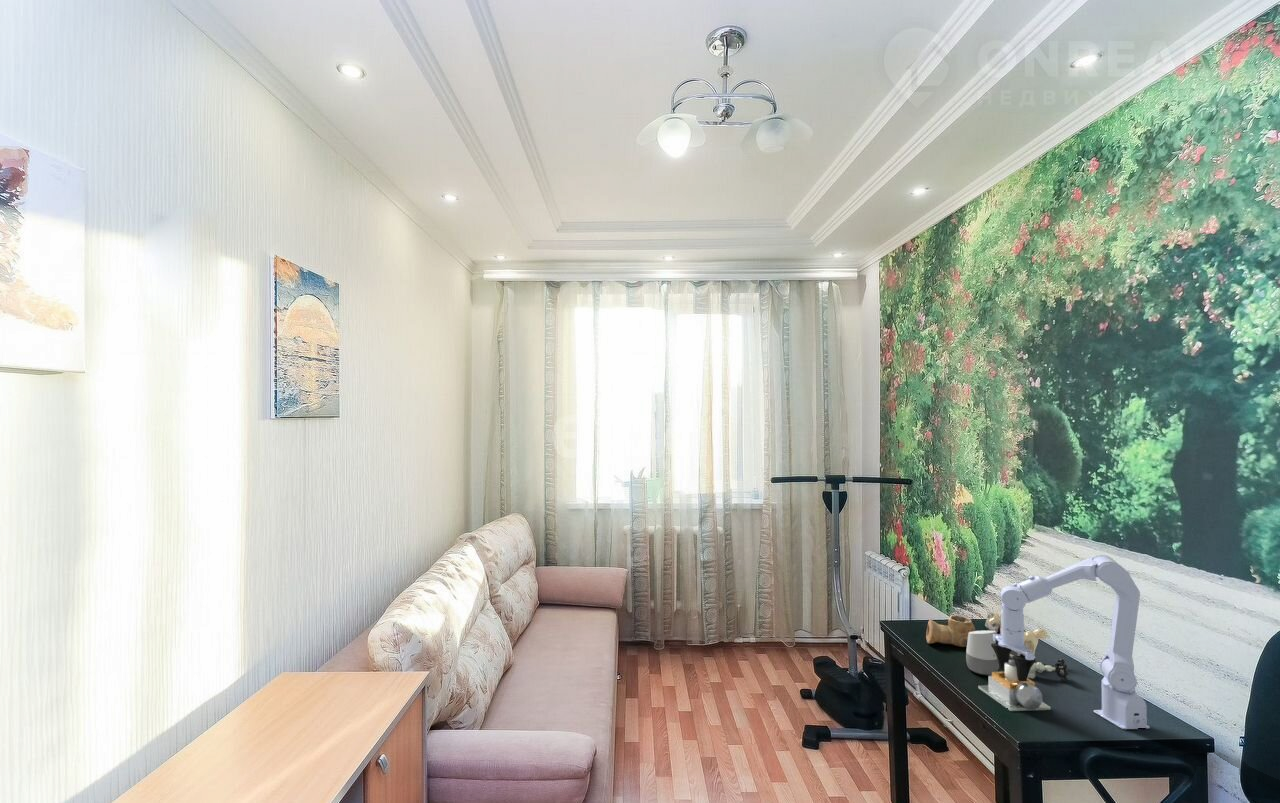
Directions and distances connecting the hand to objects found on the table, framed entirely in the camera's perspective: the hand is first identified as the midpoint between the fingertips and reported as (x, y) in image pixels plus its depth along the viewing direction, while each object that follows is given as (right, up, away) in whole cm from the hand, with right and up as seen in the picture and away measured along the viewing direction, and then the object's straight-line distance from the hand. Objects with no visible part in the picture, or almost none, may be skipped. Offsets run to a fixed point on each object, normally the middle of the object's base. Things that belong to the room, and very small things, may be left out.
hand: (1012, 674), depth 173 cm
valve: (+19, -8, +14) cm, 25 cm away
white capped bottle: (0, -2, 0) cm, 2 cm away
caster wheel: (+31, -9, +52) cm, 61 cm away
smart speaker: (+2, -8, +18) cm, 20 cm away
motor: (0, -7, 0) cm, 7 cm away
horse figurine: (+20, -8, +27) cm, 35 cm away
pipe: (+3, -8, +41) cm, 42 cm away
